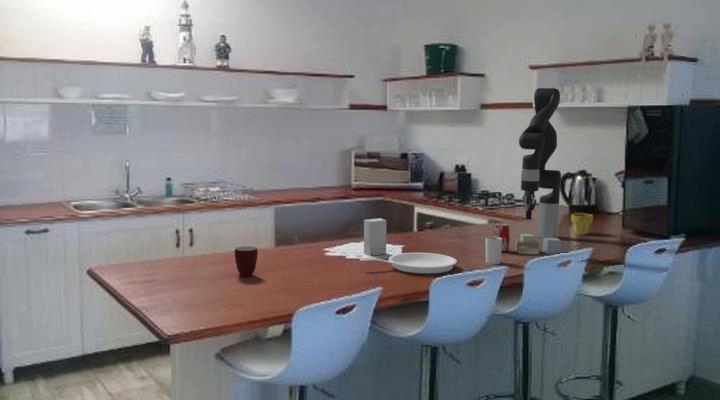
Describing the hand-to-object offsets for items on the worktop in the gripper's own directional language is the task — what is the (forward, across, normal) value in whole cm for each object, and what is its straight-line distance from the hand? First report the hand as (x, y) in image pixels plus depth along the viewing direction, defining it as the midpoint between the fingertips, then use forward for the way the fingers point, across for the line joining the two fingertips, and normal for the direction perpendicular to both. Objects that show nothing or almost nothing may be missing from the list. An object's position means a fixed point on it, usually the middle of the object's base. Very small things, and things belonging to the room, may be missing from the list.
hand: (528, 219), depth 286 cm
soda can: (+15, +2, +11) cm, 19 cm away
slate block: (+15, 0, -11) cm, 18 cm away
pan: (+15, -32, +56) cm, 66 cm away
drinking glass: (+14, -21, +20) cm, 33 cm away
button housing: (+15, 0, 0) cm, 15 cm away
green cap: (+12, 0, 0) cm, 12 cm away
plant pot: (+15, +47, -42) cm, 65 cm away
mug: (+14, -44, +117) cm, 126 cm away
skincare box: (+14, -6, +67) cm, 69 cm away
